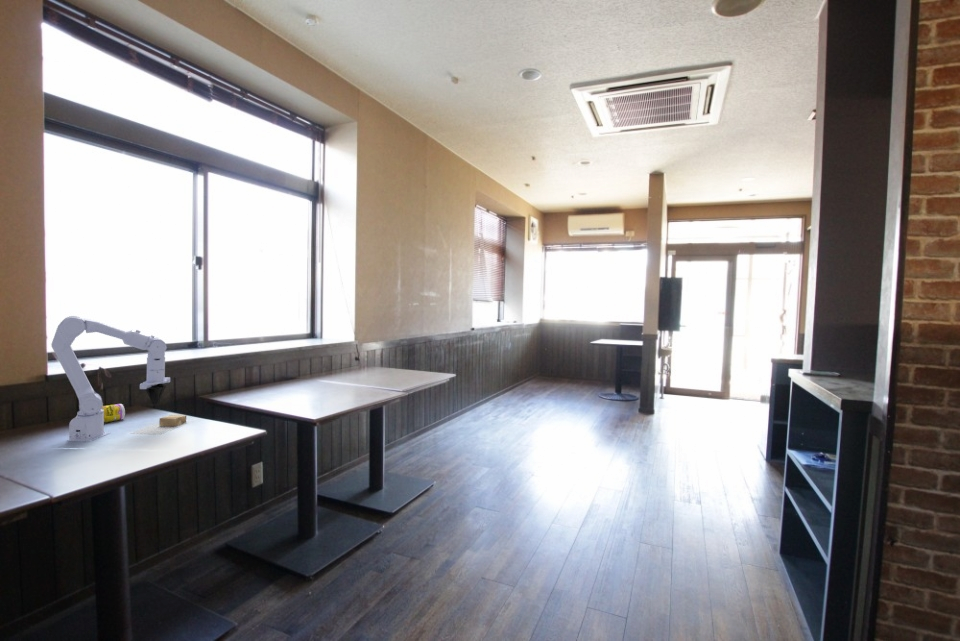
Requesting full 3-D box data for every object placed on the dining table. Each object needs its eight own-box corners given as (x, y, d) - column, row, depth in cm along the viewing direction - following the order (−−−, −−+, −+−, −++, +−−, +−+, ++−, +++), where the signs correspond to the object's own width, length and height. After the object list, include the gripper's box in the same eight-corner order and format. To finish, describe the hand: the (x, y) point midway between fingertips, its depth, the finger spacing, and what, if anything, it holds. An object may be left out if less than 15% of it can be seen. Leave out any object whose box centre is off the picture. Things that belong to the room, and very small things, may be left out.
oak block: (175, 418, 176) (186, 415, 183) (159, 418, 175) (171, 414, 183) (174, 426, 176) (186, 422, 183) (159, 425, 175) (170, 422, 183)
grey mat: (160, 435, 166) (161, 434, 166) (130, 434, 166) (130, 433, 166) (180, 426, 178) (180, 425, 178) (152, 425, 178) (152, 424, 178)
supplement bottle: (126, 414, 181) (86, 421, 170) (122, 422, 184) (81, 429, 173) (122, 400, 183) (82, 406, 172) (118, 408, 186) (78, 414, 175)
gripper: (153, 372, 166) (153, 408, 166) (178, 367, 180) (177, 400, 181) (134, 372, 165) (133, 408, 166) (160, 366, 180) (159, 399, 180)
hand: (155, 403), depth 173 cm, fingers closed
